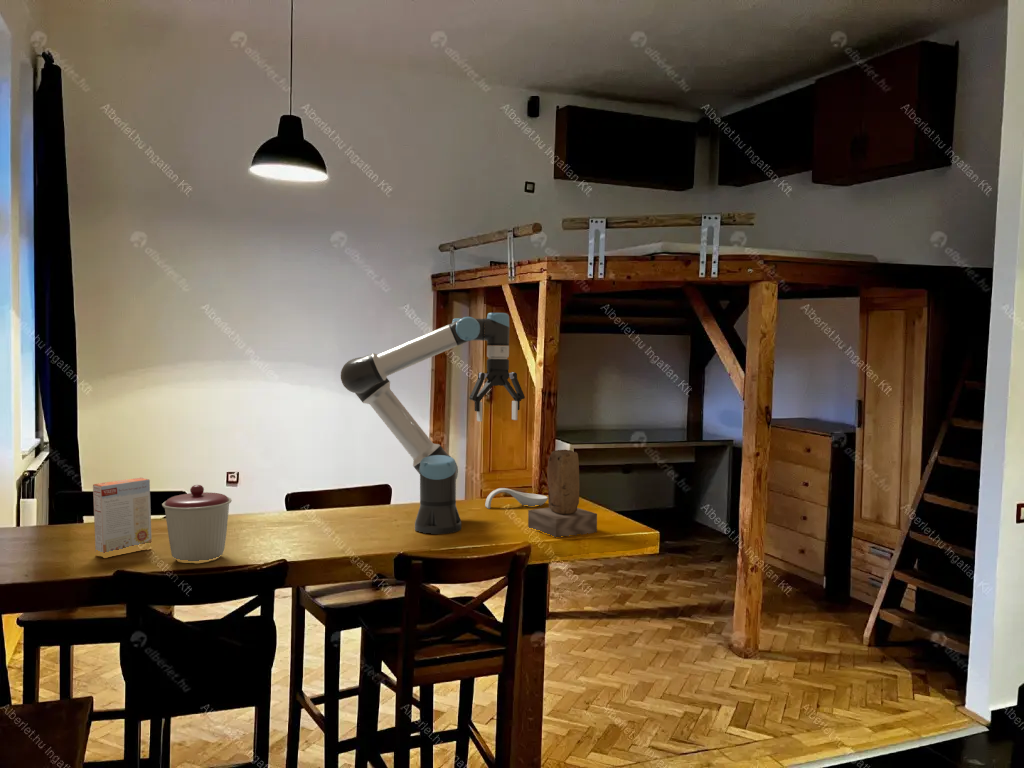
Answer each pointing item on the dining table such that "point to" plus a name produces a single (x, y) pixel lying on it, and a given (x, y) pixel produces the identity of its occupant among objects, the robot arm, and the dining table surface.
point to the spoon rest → (518, 497)
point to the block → (563, 481)
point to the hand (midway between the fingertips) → (497, 420)
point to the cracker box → (122, 514)
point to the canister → (197, 524)
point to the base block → (562, 522)
